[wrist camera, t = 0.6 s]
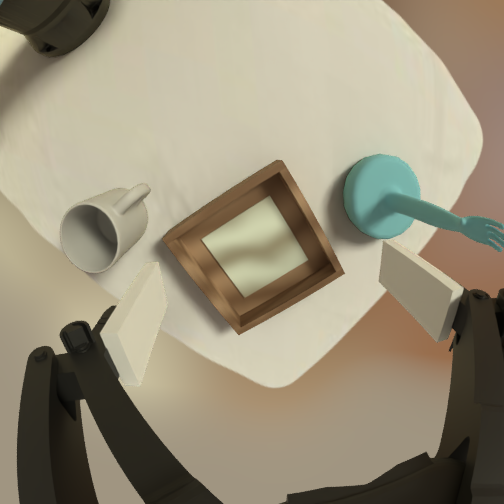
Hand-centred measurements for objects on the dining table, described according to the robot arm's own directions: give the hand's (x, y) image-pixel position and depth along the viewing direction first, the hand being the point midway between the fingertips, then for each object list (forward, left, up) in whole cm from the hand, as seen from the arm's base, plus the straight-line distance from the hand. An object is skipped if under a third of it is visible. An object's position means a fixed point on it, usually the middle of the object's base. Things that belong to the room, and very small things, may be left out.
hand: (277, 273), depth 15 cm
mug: (-9, -15, -24) cm, 30 cm away
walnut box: (+6, -3, -24) cm, 25 cm away
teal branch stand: (+9, +17, -24) cm, 31 cm away
